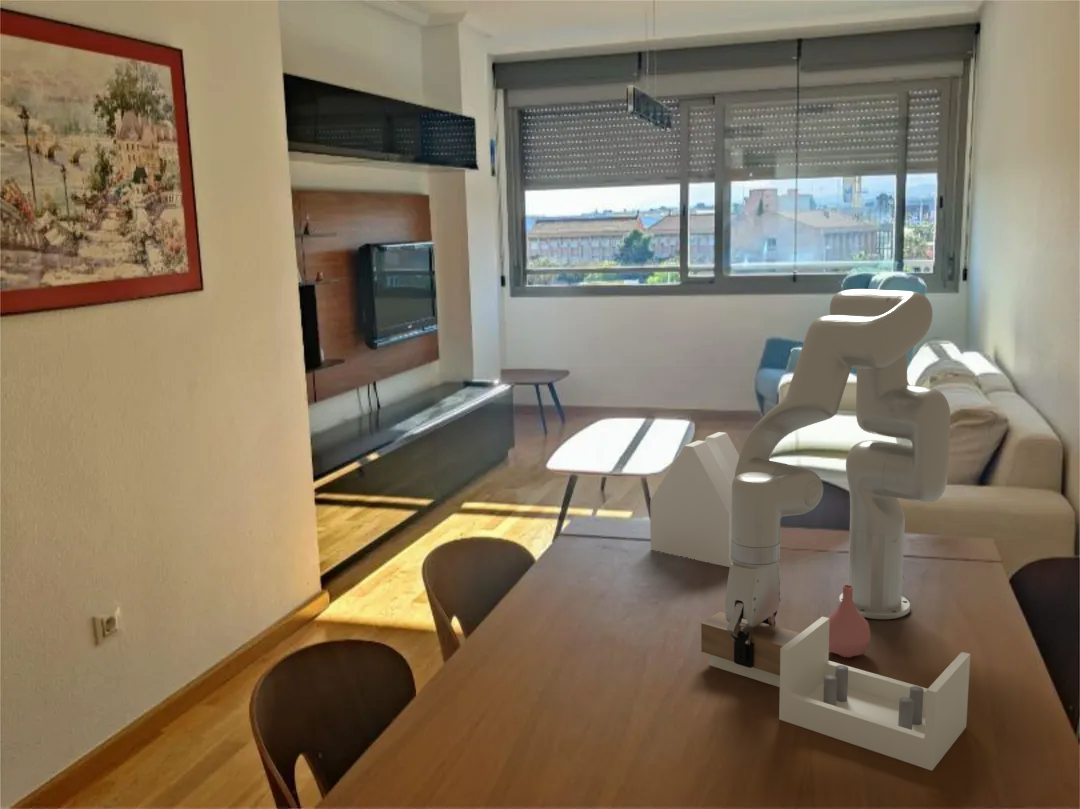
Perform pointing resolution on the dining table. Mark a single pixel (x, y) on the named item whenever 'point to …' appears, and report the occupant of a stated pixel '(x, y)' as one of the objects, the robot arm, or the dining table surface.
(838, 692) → the stand
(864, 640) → the pink vase
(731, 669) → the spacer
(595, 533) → the dining table surface
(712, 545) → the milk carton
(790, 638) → the brown wooden block
